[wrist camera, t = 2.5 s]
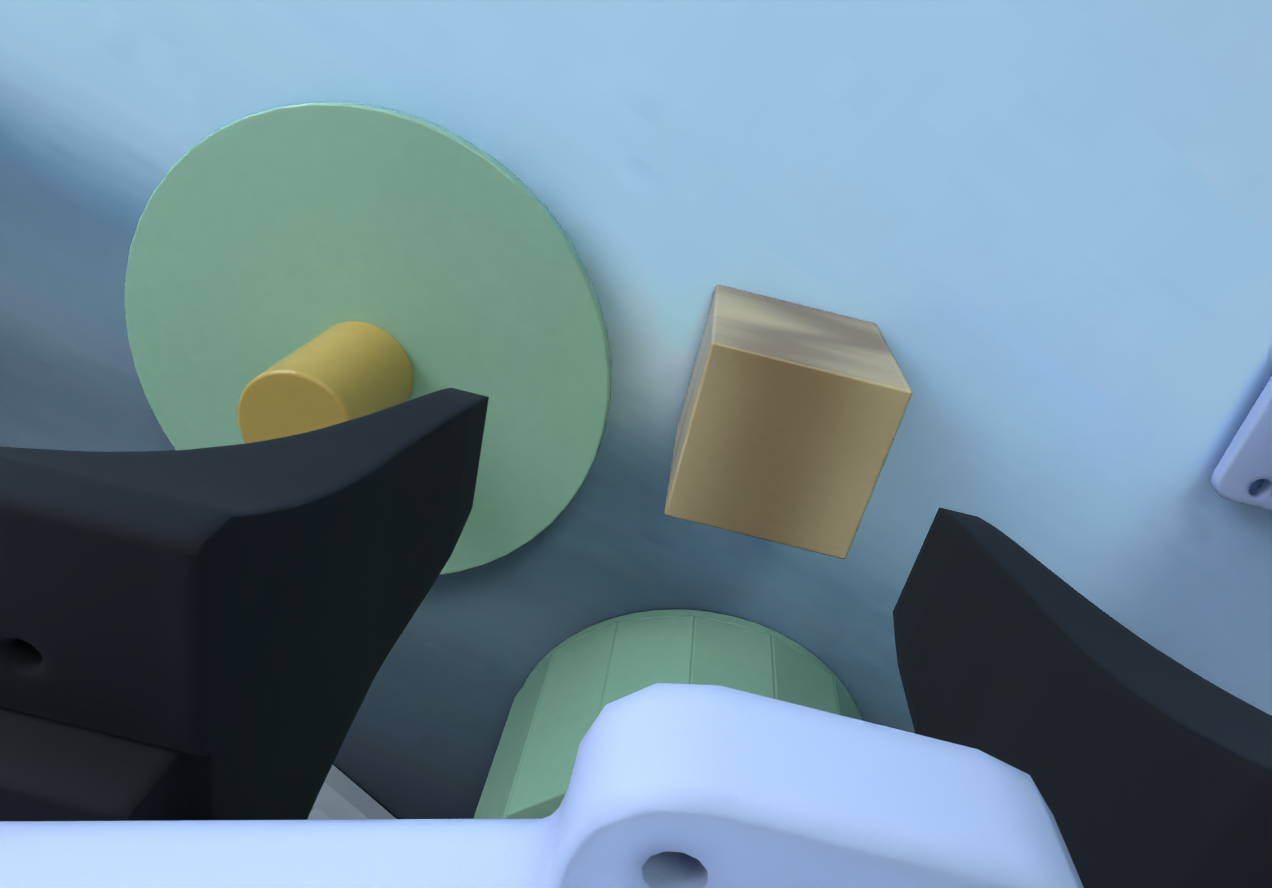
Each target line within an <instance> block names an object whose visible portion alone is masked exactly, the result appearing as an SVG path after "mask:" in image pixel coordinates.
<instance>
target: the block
mask: <svg viewBox="0 0 1272 888" xmlns="http://www.w3.org/2000/svg"><path fill="white" fill-rule="evenodd" d="M911 395H912V390H911V388H910V386H909V384H908V383H907V381H906V379H905V377H904V375H903V373H902V371H901V370H900V368H899V366H898V364H897V362H896V360H895V358H894V356H893V355H892V353H891V351H890V349H889V347H888V345H887V343H886V342H885V340H884V338H883V336H882V334H881V332H880V330H879V328H878V327H877V325H876V324H875V323H871V322H866V321H862V320H858V319H854V318H850V317H846V316H842V315H838V314H834V313H830V312H826V311H822V310H818V309H814V308H810V307H806V306H802V305H798V304H794V303H790V302H786V301H782V300H778V299H774V298H770V297H766V296H762V295H758V294H754V293H750V292H746V291H742V290H738V289H734V288H730V287H726V286H722V285H716V287H715V290H714V294H713V297H712V301H711V305H710V308H709V312H708V316H707V320H706V323H705V327H704V331H703V334H702V338H701V342H700V345H699V349H698V353H697V357H696V360H695V364H694V368H693V371H692V375H691V379H690V382H689V386H688V390H687V394H686V397H685V401H684V405H683V408H682V412H681V416H680V419H679V423H678V427H677V432H676V439H675V445H674V452H673V459H672V465H671V472H670V478H669V485H668V491H667V498H666V505H665V511H664V512H665V514H666V515H668V516H672V517H676V518H680V519H684V520H688V521H692V522H696V523H700V524H704V525H708V526H712V527H716V528H720V529H724V530H728V531H732V532H736V533H740V534H744V535H749V536H753V537H757V538H761V539H765V540H769V541H773V542H777V543H781V544H785V545H789V546H793V547H797V548H801V549H805V550H809V551H813V552H817V553H821V554H825V555H829V556H833V557H837V558H841V559H845V558H846V556H847V554H848V552H849V549H850V547H851V544H852V542H853V539H854V537H855V534H856V532H857V529H858V527H859V524H860V522H861V519H862V517H863V514H864V512H865V509H866V507H867V504H868V502H869V499H870V497H871V495H872V492H873V490H874V487H875V485H876V482H877V480H878V477H879V475H880V472H881V470H882V467H883V465H884V462H885V460H886V457H887V455H888V452H889V450H890V447H891V445H892V442H893V440H894V438H895V435H896V433H897V430H898V428H899V425H900V423H901V420H902V418H903V415H904V413H905V410H906V408H907V405H908V403H909V400H910V398H911Z"/></svg>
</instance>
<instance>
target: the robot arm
mask: <svg viewBox="0 0 1272 888" xmlns="http://www.w3.org/2000/svg"><path fill="white" fill-rule="evenodd" d="M488 400H489V397H487V396H483V395H479V394H475V393H471V392H467V391H463V390H459V389H455V388H447V389H442V390H439V391H435V392H432V393H429V394H426V395H423V396H421V397H418V398H415V399H412V400H409V401H407V402H404V403H401V404H398V405H395V406H392V407H389V408H387V409H384V410H381V411H378V412H375V413H372V414H369V415H366V416H363V417H359V418H356V419H352V420H349V421H346V422H342V423H339V424H335V425H332V426H328V427H325V428H322V429H318V430H314V431H310V432H306V433H301V434H297V435H292V436H287V437H282V438H276V439H271V440H265V441H260V442H253V443H246V444H237V445H227V446H218V447H208V448H199V449H189V450H173V451H149V452H84V451H65V450H46V449H27V448H11V447H0V888H1272V716H1270V715H1269V714H1267V713H1265V712H1263V711H1261V710H1259V709H1257V708H1256V707H1254V706H1252V705H1250V704H1248V703H1246V702H1244V701H1243V700H1241V699H1239V698H1237V697H1235V696H1233V695H1231V694H1230V693H1228V692H1226V691H1224V690H1223V689H1221V688H1219V687H1217V686H1216V685H1214V684H1212V683H1210V682H1209V681H1207V680H1205V679H1204V678H1202V677H1200V676H1199V675H1197V674H1195V673H1194V672H1192V671H1191V670H1189V669H1187V668H1186V667H1184V666H1183V665H1181V664H1180V663H1178V662H1176V661H1175V660H1173V659H1172V658H1170V657H1168V656H1167V655H1165V654H1164V653H1162V652H1160V651H1159V650H1157V649H1156V648H1154V647H1153V646H1151V645H1150V644H1148V643H1147V642H1145V641H1144V640H1142V639H1141V638H1139V637H1138V636H1137V635H1135V634H1134V633H1132V632H1131V631H1129V630H1128V629H1127V628H1125V627H1124V626H1123V625H1121V624H1120V623H1118V622H1117V621H1116V620H1114V619H1113V618H1112V617H1110V616H1109V615H1107V614H1106V613H1105V612H1103V611H1102V610H1101V609H1099V608H1098V607H1097V606H1095V605H1094V604H1093V603H1091V602H1090V601H1089V600H1087V599H1086V598H1085V597H1084V596H1082V595H1081V594H1080V593H1078V592H1077V591H1076V590H1074V589H1073V588H1072V587H1071V586H1069V585H1068V584H1067V583H1066V582H1064V581H1063V580H1062V579H1061V578H1059V577H1058V576H1057V575H1056V574H1054V573H1053V572H1052V571H1051V570H1049V569H1048V568H1047V567H1046V566H1044V565H1043V564H1042V563H1041V562H1039V561H1038V560H1037V559H1036V558H1034V557H1033V556H1032V555H1031V554H1029V553H1028V552H1027V551H1026V550H1024V549H1023V548H1022V547H1021V546H1019V545H1018V544H1017V543H1016V542H1014V541H1013V540H1012V539H1010V538H1009V537H1008V536H1006V535H1005V534H1004V533H1002V532H1001V531H1000V530H998V529H997V528H995V527H994V526H992V525H991V524H989V523H988V522H986V521H984V520H983V519H981V518H979V517H976V516H972V515H968V514H964V513H960V512H956V511H952V510H948V509H944V508H940V507H939V509H938V511H937V514H936V516H935V518H934V520H933V523H932V525H931V527H930V529H929V532H928V534H927V536H926V538H925V541H924V543H923V545H922V548H921V550H920V552H919V554H918V557H917V559H916V561H915V563H914V566H913V568H912V570H911V572H910V575H909V577H908V579H907V581H906V584H905V586H904V588H903V590H902V593H901V595H900V597H899V599H898V602H897V604H896V606H895V608H894V611H893V617H894V630H895V643H896V651H897V660H898V667H899V671H900V675H901V680H902V683H903V687H904V691H905V695H906V699H907V703H908V707H909V711H910V714H911V718H912V722H913V726H914V729H915V733H916V734H914V733H910V732H906V731H902V730H898V729H894V728H890V727H886V726H882V725H878V724H874V723H870V722H866V721H862V720H857V719H853V718H849V717H845V716H841V715H837V714H833V713H829V712H825V711H821V710H817V709H813V708H809V707H805V706H801V705H797V704H793V703H789V702H785V701H781V700H777V699H772V698H768V697H764V696H760V695H756V694H752V693H748V692H744V691H740V690H736V689H732V688H728V687H724V686H720V685H696V684H670V683H656V684H653V685H651V686H649V687H646V688H644V689H642V690H639V691H637V692H635V693H632V694H630V695H628V696H625V697H623V698H620V699H618V700H616V701H613V702H611V703H609V704H606V705H605V707H604V708H603V710H602V711H601V712H600V714H599V715H598V717H597V718H596V720H595V721H594V723H593V724H592V726H591V727H590V729H589V730H588V732H587V733H586V735H585V736H584V737H583V739H582V740H581V742H580V744H579V748H578V752H577V756H576V760H575V764H574V768H573V771H572V775H571V779H570V783H569V787H568V790H567V792H566V794H565V796H564V798H563V801H562V803H561V805H560V807H559V808H558V809H557V810H556V811H555V812H554V813H553V814H552V815H550V816H547V817H545V818H542V819H365V820H307V819H308V817H309V814H310V812H311V810H312V808H313V805H314V803H315V801H316V799H317V796H318V794H319V792H320V790H321V788H322V786H323V783H324V781H325V779H326V777H327V775H328V773H329V771H330V768H331V766H332V764H333V762H334V760H335V758H336V756H337V754H338V751H339V749H340V747H341V745H342V743H343V741H344V739H345V736H346V734H347V732H348V730H349V728H350V726H351V724H352V722H353V720H354V718H355V716H356V714H357V712H358V710H359V708H360V706H361V704H362V702H363V700H364V698H365V695H366V693H367V691H368V689H369V687H370V685H371V683H372V681H373V679H374V677H375V676H376V674H377V672H378V671H379V669H380V667H381V665H382V664H383V662H384V660H385V658H386V657H387V655H388V653H389V652H390V650H391V649H392V647H393V646H394V644H395V643H396V641H397V639H398V638H399V636H400V635H401V633H402V632H403V630H404V629H405V627H406V625H407V624H408V622H409V621H410V619H411V618H412V616H413V615H414V613H415V612H416V610H417V608H418V607H419V605H420V604H421V602H422V601H423V599H424V598H425V596H426V595H427V593H428V591H429V590H430V588H431V587H432V585H433V584H434V582H435V580H436V579H437V577H438V576H439V574H440V573H441V571H442V569H443V568H444V566H445V565H446V563H447V561H448V560H449V558H450V557H451V555H452V553H453V550H454V548H455V546H456V544H457V542H458V540H459V537H460V535H461V533H462V531H463V528H464V526H465V524H466V521H467V519H468V517H469V515H470V512H471V510H472V507H473V500H474V494H475V487H476V480H477V474H478V467H479V460H480V453H481V447H482V440H483V433H484V427H485V420H486V413H487V406H488ZM1259 479H1263V482H1262V484H1261V485H1260V486H1259V487H1258V488H1256V489H1253V490H1249V487H1250V485H1251V484H1252V483H1253V482H1254V481H1256V480H1259ZM1211 486H1212V487H1213V488H1214V490H1215V491H1216V492H1217V493H1218V494H1220V495H1221V496H1222V497H1224V498H1226V499H1228V500H1231V501H1235V502H1239V503H1243V504H1248V505H1252V506H1256V507H1260V508H1264V509H1268V510H1272V376H1271V378H1270V379H1269V381H1268V382H1267V384H1266V386H1265V387H1264V389H1263V391H1262V392H1261V394H1260V396H1259V397H1258V399H1257V401H1256V402H1255V404H1254V405H1253V407H1252V409H1251V410H1250V412H1249V414H1248V415H1247V417H1246V419H1245V420H1244V422H1243V424H1242V425H1241V427H1240V428H1239V430H1238V432H1237V433H1236V435H1235V437H1234V438H1233V440H1232V442H1231V443H1230V445H1229V447H1228V448H1227V450H1226V451H1225V453H1224V455H1223V456H1222V458H1221V460H1220V461H1219V463H1218V465H1217V466H1216V468H1215V470H1214V471H1213V474H1212V476H1211Z"/></svg>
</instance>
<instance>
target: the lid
mask: <svg viewBox="0 0 1272 888" xmlns="http://www.w3.org/2000/svg"><path fill="white" fill-rule="evenodd" d="M125 316H126V324H127V332H128V340H129V345H130V349H131V353H132V357H133V361H134V365H135V369H136V372H137V375H138V377H139V380H140V382H141V385H142V388H143V390H144V393H145V396H146V398H147V401H148V403H149V405H150V406H151V408H152V410H153V412H154V414H155V416H156V418H157V420H158V422H159V424H160V426H161V428H162V429H163V431H164V432H165V434H166V435H167V437H168V439H169V440H170V442H171V443H172V445H173V446H174V448H175V449H176V450H189V449H199V448H208V447H218V446H227V445H237V444H246V443H253V442H260V441H265V440H271V439H276V438H282V437H287V436H292V435H297V434H301V433H306V432H310V431H314V430H318V429H322V428H325V427H328V426H332V425H335V424H339V423H342V422H346V421H349V420H352V419H356V418H359V417H363V416H366V415H369V414H372V413H375V412H378V411H381V410H384V409H387V408H389V407H392V406H395V405H398V404H401V403H404V402H407V401H409V400H412V399H415V398H418V397H421V396H423V395H426V394H429V393H432V392H435V391H439V390H442V389H447V388H455V389H459V390H463V391H467V392H471V393H475V394H479V395H483V396H487V397H489V400H488V406H487V413H486V420H485V427H484V433H483V440H482V447H481V453H480V460H479V467H478V474H477V480H476V487H475V494H474V500H473V507H472V510H471V512H470V515H469V517H468V519H467V521H466V524H465V526H464V528H463V531H462V533H461V535H460V537H459V540H458V542H457V544H456V546H455V548H454V550H453V553H452V555H451V557H450V558H449V560H448V561H447V563H446V565H445V566H444V568H443V569H442V571H441V573H440V574H439V575H442V574H448V573H455V572H460V571H463V570H467V569H470V568H474V567H477V566H481V565H484V564H486V563H489V562H491V561H493V560H496V559H498V558H500V557H503V556H505V555H507V554H509V553H511V552H512V551H514V550H516V549H517V548H519V547H521V546H522V545H524V544H526V543H527V542H529V541H531V540H532V539H533V538H534V537H536V536H537V535H538V534H539V533H541V532H542V531H543V530H544V529H545V528H547V527H548V526H549V525H550V524H551V523H552V522H553V521H554V520H555V519H556V518H557V517H558V516H559V515H560V514H561V512H562V511H563V510H564V509H565V508H566V507H567V506H568V505H569V504H570V502H571V501H572V499H573V498H574V496H575V495H576V493H577V492H578V490H579V489H580V487H581V486H582V484H583V483H584V481H585V479H586V477H587V475H588V473H589V470H590V468H591V466H592V464H593V462H594V460H595V458H596V455H597V452H598V449H599V446H600V443H601V440H602V436H603V433H604V430H605V426H606V423H607V417H608V410H609V403H610V397H611V358H610V350H609V342H608V334H607V329H606V325H605V321H604V318H603V314H602V310H601V306H600V302H599V299H598V297H597V294H596V292H595V289H594V287H593V284H592V282H591V279H590V277H589V274H588V272H587V270H586V267H585V266H584V264H583V262H582V260H581V258H580V257H579V255H578V253H577V251H576V250H575V248H574V246H573V244H572V242H571V241H570V239H569V237H568V236H567V234H566V233H565V232H564V230H563V229H562V228H561V226H560V225H559V223H558V222H557V221H556V219H555V218H554V217H553V215H552V214H551V213H550V211H549V210H548V208H547V207H546V206H545V205H544V204H543V203H542V202H541V201H540V200H539V199H538V198H537V197H536V196H535V195H534V193H533V192H532V191H531V190H530V189H529V188H528V187H527V186H526V185H525V184H524V183H523V182H522V181H521V180H520V179H519V178H518V177H516V176H515V175H514V174H513V173H512V172H510V171H509V170H508V169H507V168H506V167H504V166H503V165H502V164H501V163H500V162H498V161H497V160H496V159H495V158H493V157H492V156H491V155H489V154H488V153H486V152H484V151H483V150H481V149H480V148H478V147H477V146H475V145H473V144H472V143H470V142H469V141H467V140H466V139H464V138H462V137H461V136H459V135H457V134H455V133H453V132H450V131H448V130H446V129H444V128H442V127H440V126H438V125H436V124H433V123H431V122H429V121H427V120H424V119H421V118H418V117H415V116H412V115H409V114H405V113H402V112H399V111H396V110H393V109H388V108H383V107H377V106H371V105H366V104H360V103H345V102H315V103H306V104H298V105H289V106H281V107H276V108H273V109H269V110H266V111H262V112H259V113H255V114H252V115H248V116H246V117H244V118H241V119H239V120H237V121H235V122H233V123H231V124H229V125H227V126H224V127H222V128H220V129H218V130H217V131H215V132H214V133H212V134H211V135H209V136H208V137H206V138H205V139H204V140H202V141H201V142H199V143H198V144H196V145H195V146H194V147H192V148H191V149H190V150H189V151H188V152H187V153H186V154H185V155H184V156H183V157H182V158H181V159H180V160H179V161H178V162H177V163H176V164H175V165H174V166H173V167H172V168H171V169H170V170H169V171H168V173H167V174H166V176H165V177H164V178H163V180H162V181H161V183H160V184H159V185H158V187H157V188H156V190H155V191H154V192H153V194H152V195H151V198H150V200H149V202H148V204H147V206H146V208H145V210H144V212H143V214H142V216H141V218H140V220H139V222H138V225H137V228H136V232H135V235H134V238H133V241H132V245H131V248H130V252H129V258H128V265H127V271H126V278H125Z"/></svg>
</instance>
